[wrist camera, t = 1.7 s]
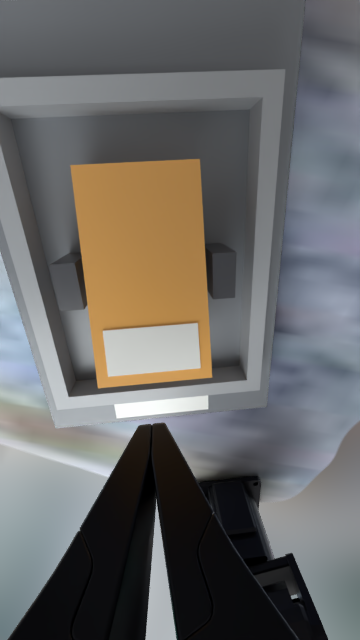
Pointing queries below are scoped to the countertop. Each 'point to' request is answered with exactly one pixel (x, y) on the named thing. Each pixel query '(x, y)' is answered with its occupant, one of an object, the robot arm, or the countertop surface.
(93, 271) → the plate
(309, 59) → the countertop surface
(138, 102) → the switch panel
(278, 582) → the robot arm
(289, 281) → the countertop surface
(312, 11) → the countertop surface
